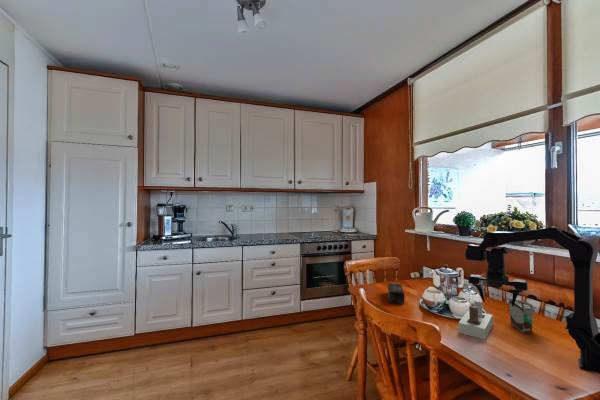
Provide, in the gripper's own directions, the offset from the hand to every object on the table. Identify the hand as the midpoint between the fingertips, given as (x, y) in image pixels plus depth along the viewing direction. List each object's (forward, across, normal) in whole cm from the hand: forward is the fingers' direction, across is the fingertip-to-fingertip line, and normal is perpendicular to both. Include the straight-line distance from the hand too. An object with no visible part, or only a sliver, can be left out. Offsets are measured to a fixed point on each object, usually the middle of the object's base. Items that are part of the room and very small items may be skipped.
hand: (498, 304), depth 110 cm
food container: (+13, +7, +15) cm, 21 cm away
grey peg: (+12, -8, +7) cm, 16 cm away
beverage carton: (+12, -49, +18) cm, 54 cm away
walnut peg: (+12, -8, -2) cm, 15 cm away
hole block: (+12, -8, +2) cm, 15 cm away
